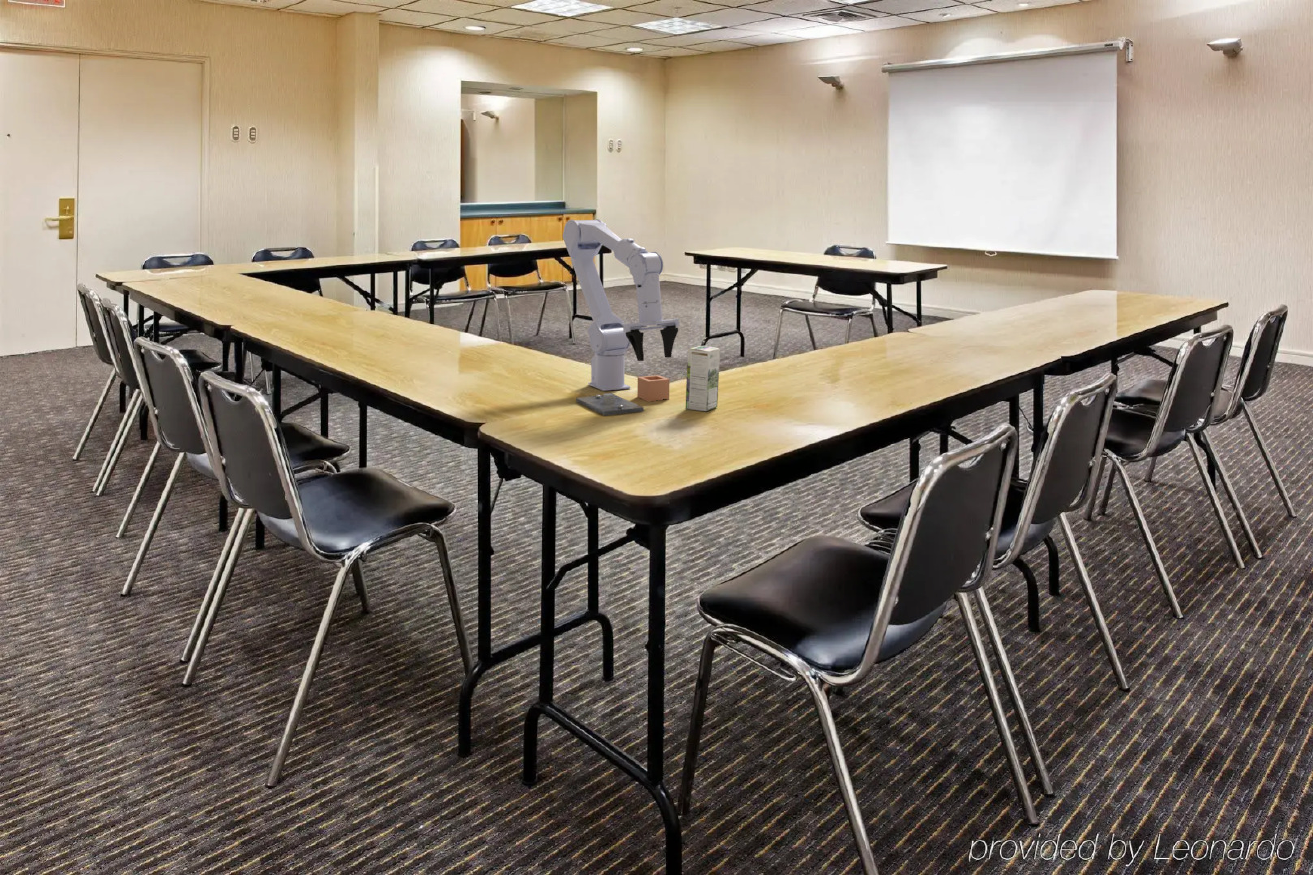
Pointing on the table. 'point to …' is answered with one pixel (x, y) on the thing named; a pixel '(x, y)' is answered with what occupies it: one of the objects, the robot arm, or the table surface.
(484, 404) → the table surface
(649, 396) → the collar
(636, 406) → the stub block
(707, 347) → the syrup box
